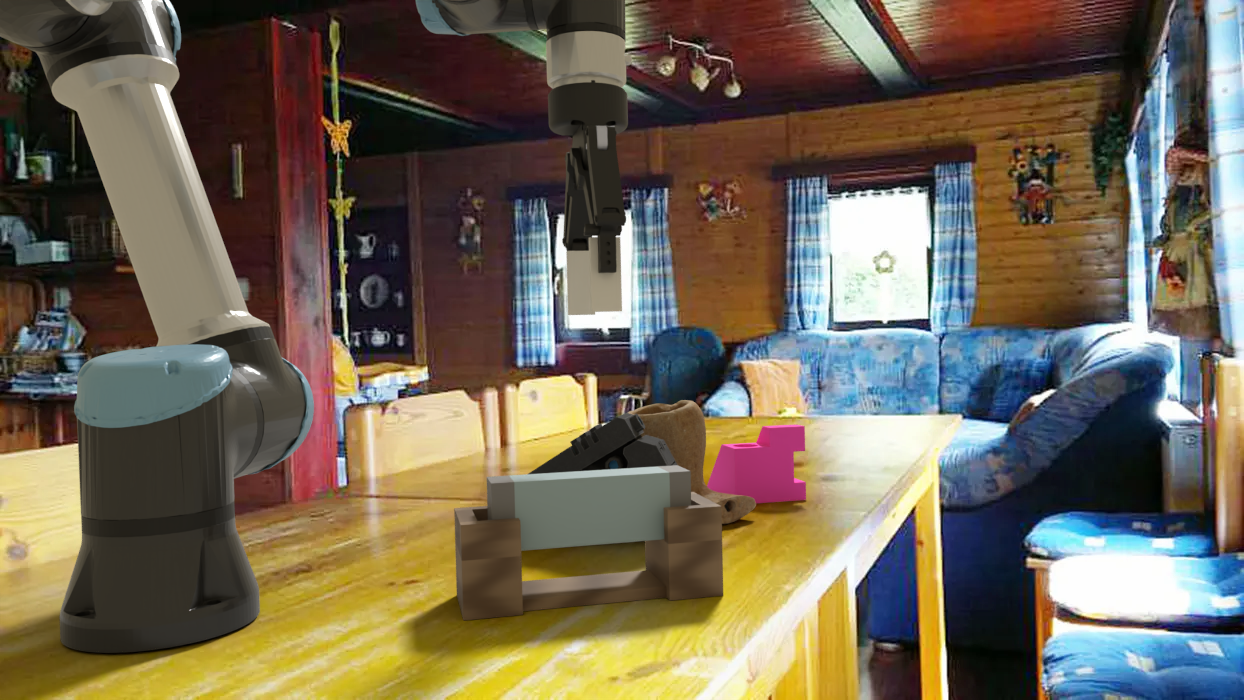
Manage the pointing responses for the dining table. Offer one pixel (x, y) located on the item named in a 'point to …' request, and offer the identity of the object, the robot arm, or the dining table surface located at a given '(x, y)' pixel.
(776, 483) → the bracket
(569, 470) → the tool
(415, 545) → the dining table surface
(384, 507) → the dining table surface
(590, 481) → the rail
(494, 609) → the posts
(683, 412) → the brown boot
